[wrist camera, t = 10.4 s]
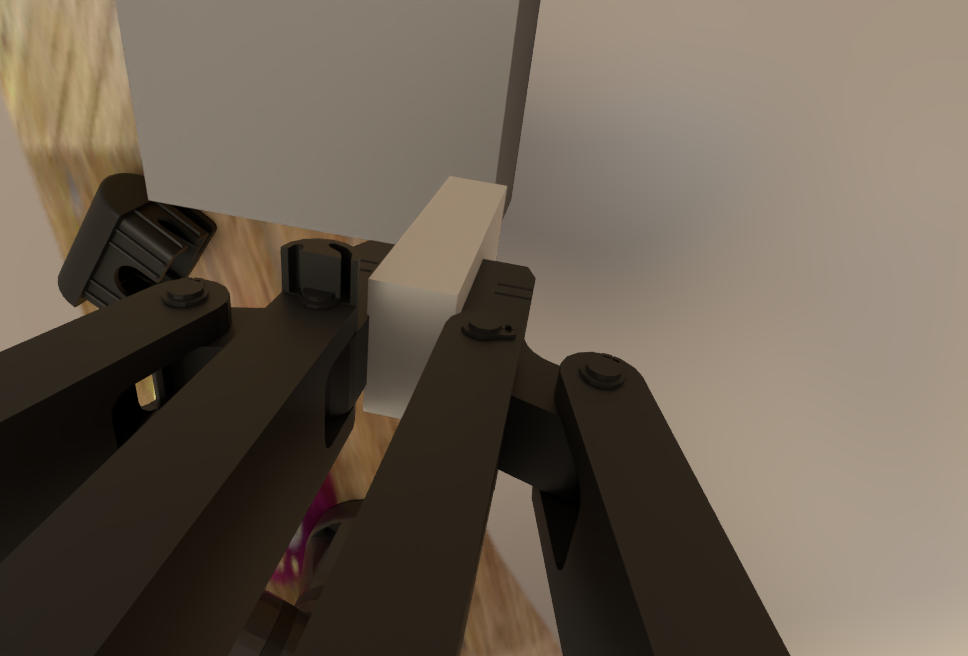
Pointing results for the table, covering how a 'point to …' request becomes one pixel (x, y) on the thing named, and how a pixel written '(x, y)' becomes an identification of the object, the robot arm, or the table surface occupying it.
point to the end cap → (131, 243)
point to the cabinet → (326, 104)
